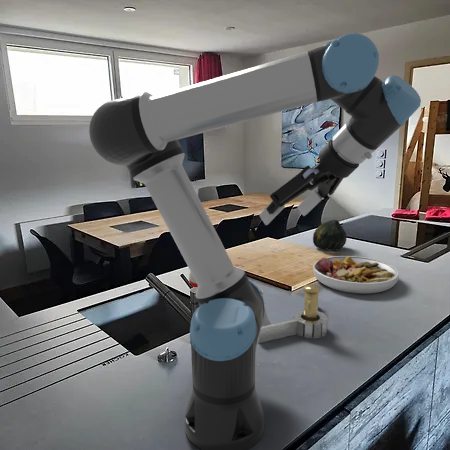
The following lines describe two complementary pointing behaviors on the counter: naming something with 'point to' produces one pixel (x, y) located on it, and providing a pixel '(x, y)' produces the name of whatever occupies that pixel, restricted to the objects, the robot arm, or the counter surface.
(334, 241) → the squash
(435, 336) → the counter surface
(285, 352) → the counter surface
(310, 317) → the hinge pin
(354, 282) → the bowl
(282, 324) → the hinge
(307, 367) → the counter surface
